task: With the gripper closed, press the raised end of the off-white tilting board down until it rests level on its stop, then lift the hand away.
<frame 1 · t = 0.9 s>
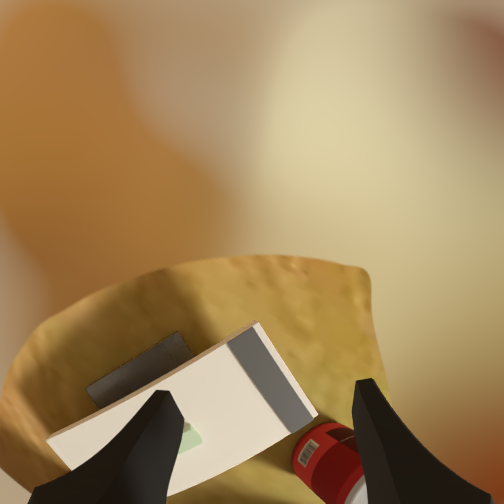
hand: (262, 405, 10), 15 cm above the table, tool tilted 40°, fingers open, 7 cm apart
leveling board: (173, 439, 18), point 5 cm above the table, hinge at 8.0°
canned food: (319, 450, 27), on the table
pivot stand: (170, 413, 23), on the table
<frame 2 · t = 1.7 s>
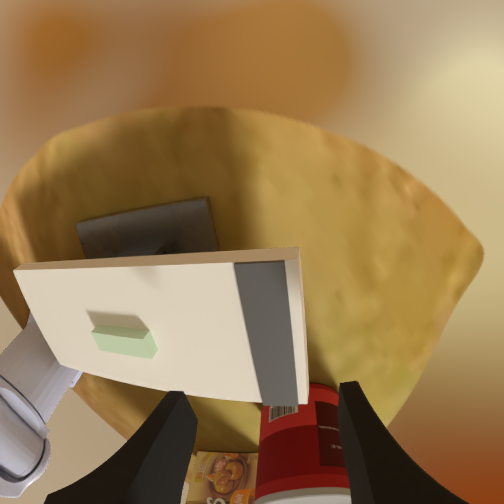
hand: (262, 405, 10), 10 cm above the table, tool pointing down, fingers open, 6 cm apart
candy box: (234, 456, 31), on the table
leveling board: (130, 331, 16), point 5 cm above the table, hinge at 8.0°
canned food: (302, 404, 25), on the table
pivot stand: (159, 288, 21), on the table
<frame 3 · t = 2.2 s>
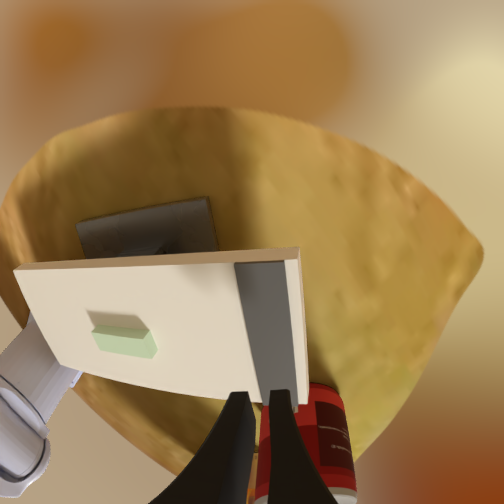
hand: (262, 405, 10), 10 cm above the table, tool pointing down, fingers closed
candy box: (234, 456, 31), on the table
leveling board: (130, 331, 16), point 5 cm above the table, hinge at 8.0°
canned food: (302, 404, 25), on the table
pivot stand: (159, 288, 21), on the table
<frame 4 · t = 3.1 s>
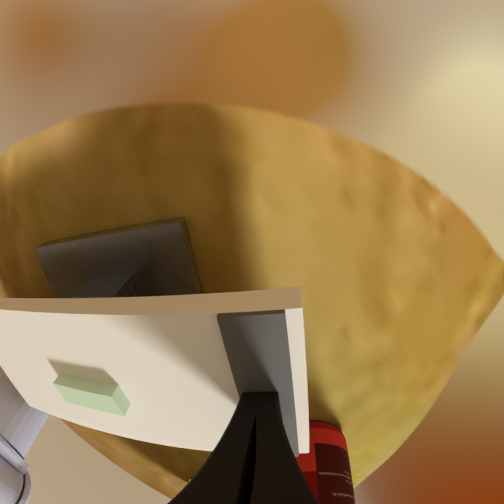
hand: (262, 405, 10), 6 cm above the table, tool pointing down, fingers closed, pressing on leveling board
leveling board: (97, 381, 12), point 5 cm above the table, hinge at 3.1°, touching gripper
canned food: (300, 440, 22), on the table
pivot stand: (133, 322, 17), on the table
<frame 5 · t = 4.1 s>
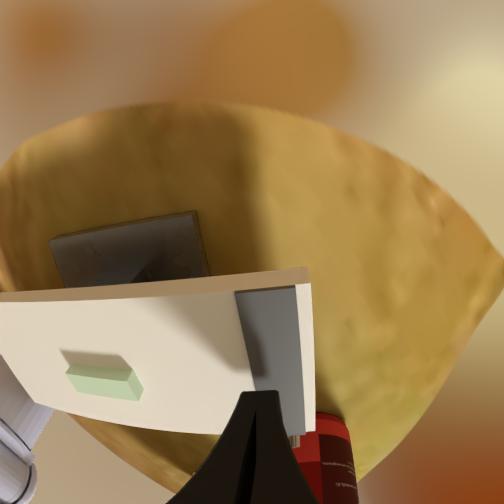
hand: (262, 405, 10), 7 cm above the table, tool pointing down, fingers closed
leveling board: (109, 370, 13), point 5 cm above the table, hinge at -0.2°
canned food: (304, 432, 22), on the table
pivot stand: (143, 313, 18), on the table
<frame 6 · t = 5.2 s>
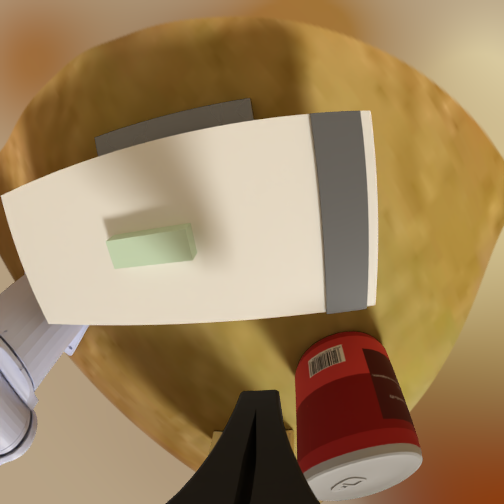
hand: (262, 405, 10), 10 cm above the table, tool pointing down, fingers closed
leveling board: (156, 239, 14), point 5 cm above the table, hinge at -0.2°
canned food: (340, 363, 23), on the table
pivot stand: (186, 209, 18), on the table
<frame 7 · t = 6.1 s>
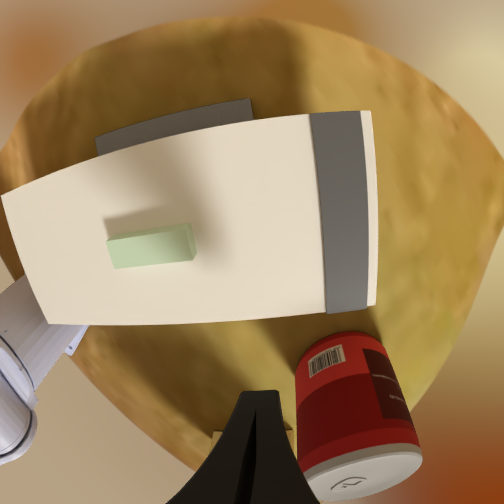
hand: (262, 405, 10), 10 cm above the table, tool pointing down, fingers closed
leveling board: (156, 239, 14), point 5 cm above the table, hinge at -0.2°
canned food: (340, 363, 23), on the table
pivot stand: (186, 209, 18), on the table
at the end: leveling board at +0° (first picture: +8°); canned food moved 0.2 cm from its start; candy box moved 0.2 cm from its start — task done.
